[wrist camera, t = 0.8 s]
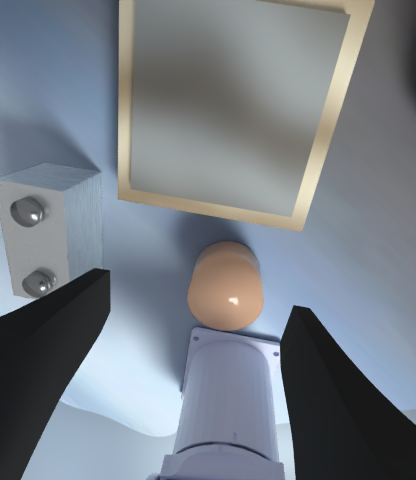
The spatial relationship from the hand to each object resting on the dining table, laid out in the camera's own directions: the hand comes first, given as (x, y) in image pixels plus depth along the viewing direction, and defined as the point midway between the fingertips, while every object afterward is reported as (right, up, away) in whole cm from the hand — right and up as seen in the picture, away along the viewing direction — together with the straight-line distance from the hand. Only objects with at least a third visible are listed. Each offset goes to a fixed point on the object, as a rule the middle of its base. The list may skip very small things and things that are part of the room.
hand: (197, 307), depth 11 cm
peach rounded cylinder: (+2, 0, +11) cm, 11 cm away
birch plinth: (+2, +10, +6) cm, 12 cm away
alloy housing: (-10, +4, +11) cm, 15 cm away
